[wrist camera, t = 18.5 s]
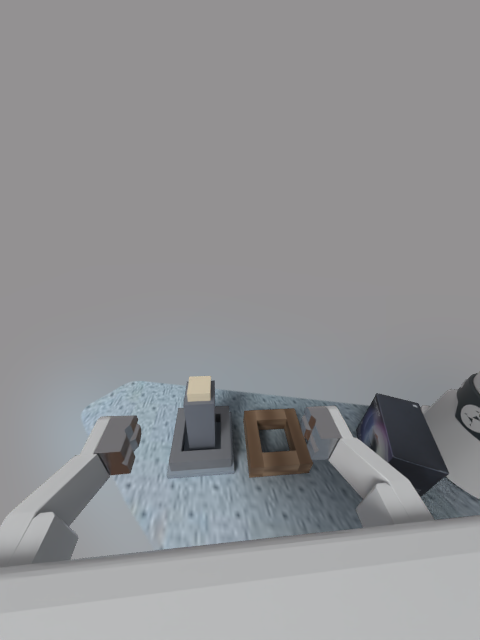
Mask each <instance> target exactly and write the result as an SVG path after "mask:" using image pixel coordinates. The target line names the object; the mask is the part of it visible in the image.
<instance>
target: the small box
mask: <svg viewBox="0 0 480 640" xmlns="http://www.w3.org/2000/svg"><path fill="white" fill-rule="evenodd" d="M357 436H358V439H359V440H360V441H362V442H363V443H364V444H365V445H366V446H368V447H369V448H370V449H371V450H373V451H374V452H375V453H376V454H378V455H379V456H380V457H381V458H382V459H384V460H385V461H386V462H387V463H389V464H390V465H391V466H392V467H394V468H395V469H396V470H397V471H398V472H400V473H401V474H402V475H403V476H405V477H406V478H407V479H408V480H409V481H410V482H411V484H412V485H413V487H414V489H415V490H416V492H417V493H418V495H419V496H420V497H421V496H423V495H424V494H425V493H426V492H427V491H428V490H429V489H431V488H432V487H433V486H434V485H435V484H436V483H437V482H439V481H440V480H441V479H443V478H444V477H446V476H447V475H449V471H448V469H447V467H446V465H445V462H444V460H443V458H442V455H441V453H440V451H439V449H438V446H437V444H436V442H435V440H434V437H433V435H432V433H431V431H430V428H429V426H428V424H427V422H426V419H425V417H424V415H423V413H422V410H421V408H420V406H419V404H418V403H415V402H411V401H406V400H402V399H398V398H394V397H390V396H386V395H382V394H378V393H377V394H376V395H375V397H374V399H373V401H372V403H371V405H370V406H369V408H368V410H367V412H366V414H365V415H364V417H363V419H362V421H361V423H360V424H359V426H358V428H357Z"/></svg>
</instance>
